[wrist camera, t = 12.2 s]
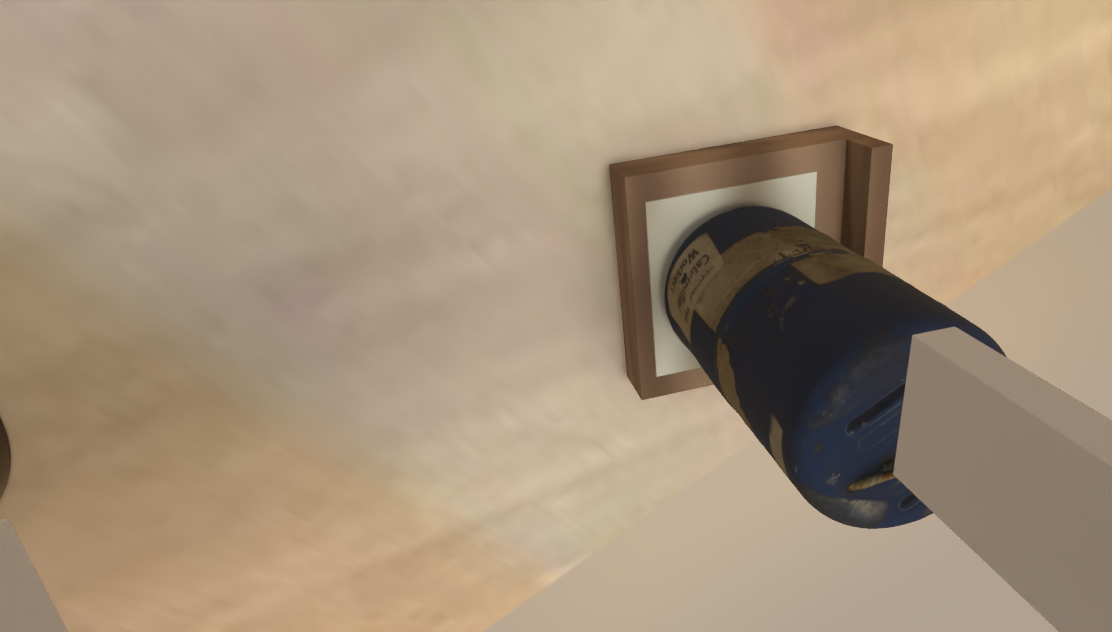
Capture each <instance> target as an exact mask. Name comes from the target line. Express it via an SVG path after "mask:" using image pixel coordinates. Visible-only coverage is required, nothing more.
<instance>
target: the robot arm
mask: <svg viewBox="0 0 1112 632" xmlns="http://www.w3.org/2000/svg"><path fill="white" fill-rule="evenodd" d="M9 469H10V453H9V446H8V441H7V437H6V434H5V431H4V428H3V426H2V424H1V422H0V498H1V496H2V494H3V492H4V489H5V487H6V484H7V480H8V476H9ZM893 475H894V476H895V477H896V478H897V479H898V480H899V481H901V482H902V483H903V484H904V485H905V486H906V487H907V488H908V489H909V490H910V491H911V492H912V493H913V494H914V495H915V496H916V497H917V498H918V499H919V500H921V501H922V502H923V503H924V504H925V505H926V506H927V507H928V508H929V509H930V510H931V511H932V512H933V513H934V514H935V515H936V516H937V517H938V518H940V519H941V520H942V521H943V522H944V523H945V524H946V525H947V526H948V527H949V528H950V529H951V530H952V531H953V532H954V533H956V535H958V536H959V537H960V538H961V539H962V540H963V541H964V542H965V543H966V544H967V545H968V546H969V547H970V548H971V549H972V550H973V551H974V552H975V553H977V554H978V555H979V556H980V557H981V558H982V559H983V560H984V561H985V562H986V563H987V564H988V565H989V566H990V567H991V568H992V569H993V570H995V572H996V573H998V574H999V575H1000V576H1001V577H1002V578H1003V579H1004V580H1005V581H1006V582H1007V583H1008V584H1009V585H1010V586H1011V587H1012V588H1013V589H1015V590H1016V591H1017V592H1018V593H1019V594H1020V595H1021V596H1022V597H1023V598H1024V599H1025V600H1026V601H1027V602H1028V603H1029V604H1030V605H1031V606H1032V607H1033V608H1034V609H1036V610H1037V611H1038V612H1039V613H1040V614H1041V615H1042V616H1043V617H1044V618H1045V619H1046V620H1047V621H1048V622H1049V623H1050V624H1051V625H1052V626H1053V627H1055V628H1056V629H1057V630H1058V631H1059V632H1112V420H1110V419H1109V418H1107V417H1105V416H1104V415H1102V414H1100V413H1099V412H1097V411H1095V410H1094V409H1092V408H1090V407H1089V406H1087V405H1085V404H1084V403H1082V402H1080V401H1079V400H1077V399H1075V398H1074V397H1072V396H1070V395H1069V394H1067V393H1065V392H1064V391H1062V390H1060V389H1059V388H1057V387H1055V386H1054V385H1052V384H1050V383H1049V382H1047V381H1045V380H1043V379H1042V378H1040V377H1038V376H1037V375H1035V374H1033V373H1031V372H1030V371H1028V370H1027V369H1025V368H1023V367H1022V366H1020V365H1018V364H1017V363H1015V362H1013V361H1012V360H1010V359H1008V358H1007V357H1005V356H1003V355H1002V354H1000V353H998V352H997V351H995V350H993V349H992V348H990V347H988V346H987V345H985V344H983V343H982V342H980V341H978V340H977V339H975V338H973V337H972V336H970V335H968V334H966V333H965V332H963V331H961V330H960V329H958V328H956V327H950V328H945V329H940V330H935V331H930V332H925V333H920V334H915V335H912V341H911V349H910V356H909V363H908V370H907V377H906V385H905V392H904V399H903V406H902V414H901V421H900V428H899V435H898V442H897V450H896V457H895V464H894V471H893ZM0 632H68V631H67V629H66V627H65V625H64V623H63V621H62V619H61V617H60V615H59V613H58V612H57V610H56V608H55V606H54V604H53V602H52V600H51V598H50V596H49V594H48V593H47V591H46V589H45V587H44V585H43V583H42V581H41V579H40V577H39V575H38V574H37V572H36V570H35V568H34V566H33V564H32V562H31V560H30V558H29V556H28V555H27V553H26V551H25V549H24V547H23V545H22V543H21V541H20V539H19V537H18V536H17V534H16V532H15V530H14V528H13V526H12V524H11V522H10V520H9V518H6V519H2V520H0Z"/></svg>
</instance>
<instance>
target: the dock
mask: <svg viewBox="0 0 1112 632" xmlns="http://www.w3.org/2000/svg"><path fill="white" fill-rule="evenodd" d="M892 148H893V144H890V143H887V142H884V141H881V140H878V139H875V138H872V137H869V136H866V135H863V134H860V133H857V132H854V131H851V130H848V129H845V128H842V127H839V126H833V127H827V128H821V129H815V130H809V131H804V132H798V133H792V134H786V135H780V136H774V137H769V138H763V139H757V140H751V141H745V142H739V143H734V144H728V145H722V146H716V147H710V148H704V149H699V150H693V151H687V152H681V153H675V154H669V155H664V156H658V157H652V158H646V159H640V160H634V161H629V162H623V163H617V164H611V165H610V177H611V188H612V200H613V212H614V224H615V235H616V247H617V259H618V270H619V282H620V294H621V306H622V317H623V329H624V341H625V353H626V364H627V376H628V378H629V380H630V381H631V383H632V385H633V386H634V388H635V390H636V391H637V393H638V395H639V396H640V398H641V400H644V399H649V398H653V397H658V396H663V395H667V394H672V393H676V392H681V391H685V390H690V389H695V388H699V387H704V386H708V385H713V382H712V381H711V380H710V378H709V377H708V375H707V374H706V373H705V371H704V370H703V369H702V367H701V366H700V364H699V363H698V361H697V360H696V358H695V357H694V355H693V354H692V353H691V352H690V351H689V349H688V348H687V347H686V346H685V345H684V344H683V343H682V342H681V341H680V340H679V339H678V337H677V336H676V334H675V333H674V331H673V329H672V327H671V325H670V322H669V319H668V316H667V313H666V308H665V295H664V293H665V283H666V278H667V274H668V270H669V268H670V265H671V263H672V260H673V258H674V257H675V255H676V253H677V251H678V249H679V248H680V246H681V245H682V244H683V242H684V241H685V240H686V239H687V237H688V236H689V235H690V234H691V233H693V232H694V231H695V230H696V229H697V228H698V227H699V226H701V225H702V224H703V223H705V222H706V221H708V220H709V219H711V218H713V217H715V216H717V215H719V214H721V213H724V212H727V211H730V210H733V209H737V208H741V207H749V206H764V207H770V208H775V209H779V210H782V211H784V212H787V213H789V214H791V215H793V216H795V217H797V218H798V219H800V220H802V221H803V222H805V223H807V224H808V225H810V226H812V227H813V228H815V229H816V230H818V231H820V232H822V233H824V234H826V235H828V236H830V237H831V238H832V239H834V240H835V241H837V242H838V243H840V244H842V245H843V246H845V247H847V248H849V249H850V250H852V251H853V252H855V253H856V254H858V255H861V256H863V257H865V258H867V259H869V260H871V261H873V262H874V263H876V264H878V265H879V266H881V267H882V266H883V254H884V242H885V230H886V219H887V207H888V195H889V183H890V172H891V160H892Z"/></svg>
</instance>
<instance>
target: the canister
mask: <svg viewBox="0 0 1112 632" xmlns="http://www.w3.org/2000/svg"><path fill="white" fill-rule="evenodd" d="M664 295H665V308H666V313H667V316H668V319H669V322H670V325H671V327H672V329H673V331H674V333H675V334H676V336H677V337H678V339H679V340H680V341H681V342H682V343H683V344H684V345H685V346H686V347H687V348H688V349H689V351H690V352H691V353H692V354H693V355H694V357H695V358H696V360H697V361H698V363H699V364H700V366H701V367H702V369H703V370H704V371H705V373H706V374H707V375H708V377H709V378H710V380H711V381H712V382H713V384H714V385H715V386H716V388H717V389H718V390H719V392H720V393H721V394H722V395H723V397H724V398H725V399H726V401H727V402H728V403H729V404H730V405H731V406H732V407H733V409H735V410H736V412H737V413H738V414H739V415H740V416H741V418H742V419H743V421H744V422H745V423H746V425H747V426H748V427H749V428H750V430H751V431H752V432H753V433H754V435H755V436H756V437H757V439H758V440H759V441H760V442H761V444H762V445H764V447H765V448H766V450H767V451H768V452H769V454H770V455H771V456H772V457H773V459H774V460H775V461H776V463H777V464H778V465H779V467H780V468H781V469H782V471H783V472H784V473H785V474H786V476H787V477H788V478H789V480H790V481H791V482H792V483H793V484H794V486H795V487H796V488H797V489H798V491H799V492H800V493H801V495H802V496H803V497H804V498H805V499H806V500H807V501H808V503H810V504H811V505H812V506H813V507H814V508H815V509H817V510H818V511H819V512H821V513H822V514H824V515H825V516H827V517H829V518H831V519H832V520H835V521H838V522H840V523H842V524H846V525H849V526H854V527H859V528H868V529H877V528H888V527H895V526H899V525H903V524H907V523H911V522H914V521H917V520H920V519H922V518H924V517H926V516H928V515H930V514H932V513H933V512H932V511H931V510H930V509H929V508H928V507H927V506H926V505H925V504H924V503H923V502H922V501H921V500H919V499H918V498H917V497H916V496H915V495H914V494H913V493H912V492H911V491H910V490H909V489H908V488H907V487H906V486H905V485H904V484H903V483H902V482H901V481H899V480H898V479H897V478H896V477H895V476H894V475H893V471H894V464H895V457H896V450H897V442H898V435H899V428H900V421H901V414H902V406H903V399H904V392H905V385H906V377H907V370H908V363H909V356H910V349H911V341H912V335H915V334H920V333H925V332H930V331H935V330H940V329H945V328H950V327H956V328H958V329H960V330H961V331H963V332H965V333H966V334H968V335H970V336H972V337H973V338H975V339H977V340H978V341H980V342H982V343H983V344H985V345H987V346H988V347H990V348H992V349H993V350H995V351H997V352H998V353H1000V354H1002V355H1003V356H1005V357H1006V355H1005V354H1004V352H1003V351H1002V349H1001V348H1000V347H999V345H998V344H997V343H996V342H995V341H994V340H993V339H992V338H991V337H990V336H989V335H988V334H987V333H986V332H984V331H983V330H982V329H980V328H979V327H977V326H976V325H974V324H973V323H971V322H970V321H968V320H966V319H965V318H963V317H962V316H960V315H958V314H957V313H955V312H954V311H952V310H950V309H949V308H948V307H946V306H945V305H943V304H942V303H940V302H938V301H936V300H934V299H933V298H931V297H929V296H928V295H926V294H924V293H923V292H921V291H919V290H918V289H916V288H915V287H913V286H912V285H910V284H908V283H907V282H905V281H903V280H902V279H900V278H898V277H897V276H895V275H894V274H892V273H890V272H889V271H887V270H886V269H884V268H882V267H881V266H879V265H878V264H876V263H874V262H873V261H871V260H869V259H867V258H865V257H863V256H861V255H858V254H856V253H855V252H853V251H852V250H850V249H849V248H847V247H845V246H843V245H842V244H840V243H838V242H837V241H835V240H834V239H832V238H831V237H830V236H828V235H826V234H824V233H822V232H820V231H818V230H816V229H815V228H813V227H812V226H810V225H808V224H807V223H805V222H803V221H802V220H800V219H798V218H797V217H795V216H793V215H791V214H789V213H787V212H784V211H782V210H779V209H775V208H770V207H764V206H749V207H741V208H737V209H733V210H730V211H727V212H724V213H721V214H719V215H717V216H715V217H713V218H711V219H709V220H708V221H706V222H705V223H703V224H702V225H701V226H699V227H698V228H697V229H696V230H695V231H694V232H693V233H691V234H690V235H689V236H688V237H687V239H686V240H685V241H684V242H683V244H682V245H681V246H680V248H679V249H678V251H677V253H676V255H675V257H674V258H673V260H672V263H671V265H670V268H669V270H668V274H667V278H666V283H665V293H664Z"/></svg>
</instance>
